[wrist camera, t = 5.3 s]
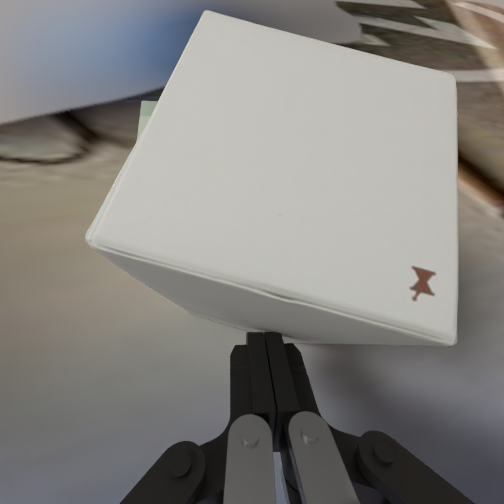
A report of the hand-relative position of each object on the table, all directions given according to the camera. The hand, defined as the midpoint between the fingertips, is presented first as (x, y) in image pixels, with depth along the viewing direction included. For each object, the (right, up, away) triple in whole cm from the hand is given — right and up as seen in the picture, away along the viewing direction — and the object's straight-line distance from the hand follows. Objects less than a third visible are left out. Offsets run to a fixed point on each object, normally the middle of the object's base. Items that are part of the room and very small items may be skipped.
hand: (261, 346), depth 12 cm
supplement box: (0, +3, +6) cm, 7 cm away
